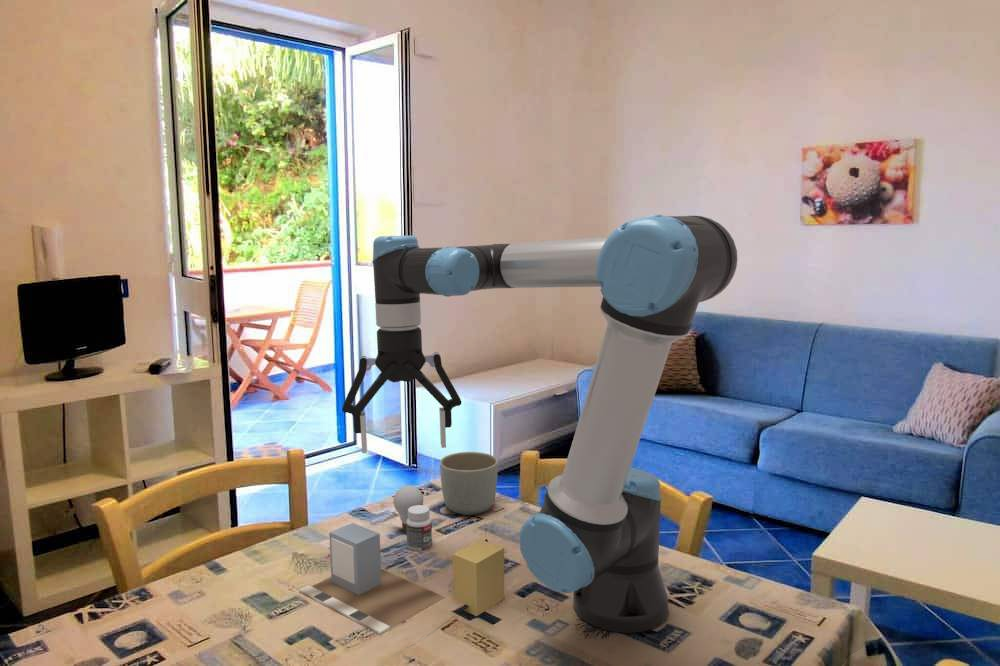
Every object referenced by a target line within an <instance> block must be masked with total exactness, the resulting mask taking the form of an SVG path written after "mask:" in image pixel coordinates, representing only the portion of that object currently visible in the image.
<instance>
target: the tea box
mask: <svg viewBox="0 0 1000 666" xmlns="http://www.w3.org/2000/svg"><path fill="white" fill-rule="evenodd" d="M452 578H453V579H452V581H453V583H452V584H453V585H452V586H453V587H452V588H453V600H454V601H457V602H460V603H462V604H464V605H466V606H468V607H466V608H464V609H463V611H464V612H466V613H468V614H470V615H473V616H475V617H478V616H480V615H481V614H483V613H485V611H487V610H488V609H491V608H492V607H493V606H495V605H497V604H498V603H500V602H501V601H503V600H504V599H505V547H503V546H499V545H497V544H495V543H491V542H489V541H488V542H487V541H485V540H484V539H479V540H477V541H475V542H474V543H472V544H469V545H468V546H466V547H464V548H463V549H460V550H458V551H456V552H455V553H453V554H452Z"/></svg>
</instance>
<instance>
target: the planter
mask: <svg viewBox="0 0 1000 666" xmlns="http://www.w3.org/2000/svg"><path fill="white" fill-rule="evenodd" d="M498 461H499V460H498V458H497V457H496V456H494V455H492V454H489V453H485V452H478V451H463V452H454V453H451V454H447V455H445V456H444V457H442V458H441V459H440V461H439V473H440V474H439V475H440V481H441V482H440V483H441V491H442V498H443V501H444V504H445V505H446V507H447V508H448V509H449V510H451V511H452V512H453V513H456V514H458V515H461V516H474V515H480V514H482V513H484V512H486V511H488V510H489V509H490V508H491V507H492V506H493V504H494V502H495V499H496V494H497V485H498V484H497V483H498V469H499V463H498Z"/></svg>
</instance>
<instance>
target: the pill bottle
mask: <svg viewBox="0 0 1000 666" xmlns="http://www.w3.org/2000/svg"><path fill="white" fill-rule="evenodd" d="M430 516H431V515H430V508H429V506H427V505H416V506H412V507H410V508H409V509H408V517H409V518H408V519H407V522H406V526H407V531H406V547H407V549H409V550H411V551H414V552H415V551H417V552H419V551H425V550H428V549H431V547H433V532H432V531H433V528H432V527H433V525H432V518H431V517H430Z"/></svg>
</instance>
